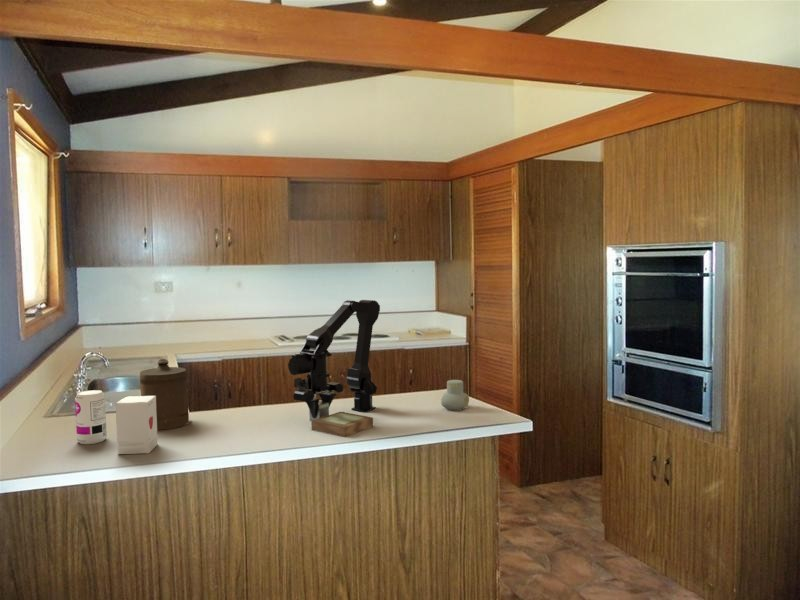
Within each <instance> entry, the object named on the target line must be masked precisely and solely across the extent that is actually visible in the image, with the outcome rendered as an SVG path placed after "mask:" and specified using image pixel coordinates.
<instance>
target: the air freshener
mask: <svg viewBox="0 0 800 600" xmlns="http://www.w3.org/2000/svg"><path fill="white" fill-rule="evenodd" d="M469 396H470V395H468V394H467V393H466V392H464V381H463V380H461V379H449V380H447V381H446V392H445V393H443V394H442V396H441V399H440V402H441V406H442V407H443V408H445V409H446V410H450V411H463V410H464V409H466V408H467V407H468V406H469V404H470V403H469V402H470V397H469Z"/></svg>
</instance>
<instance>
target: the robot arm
mask: <svg viewBox="0 0 800 600" xmlns="http://www.w3.org/2000/svg"><path fill="white" fill-rule="evenodd" d="M380 312H381V305H380V303H379V302H378V301H376V300H373V299H372V300H371V299H361V300H359V301H356V300H349V299H347V300H344V301H343V302H342V305H341V306H340V307H339V308H338V309H337V310H336V311H335V313H333V314H332V315H331V317H330V318H328V320H327V321H326V322H325V323H324V324H323V325H322V326H320V327H318V328H316V329H314V330H313V331H312V332H310V333H309V334H308V335H307V337H306V338H305V342H304V344H303V345H302V347H301V350H300V351H299V353H292V354H291V358H290V359H289V361H288V363H287V367H288V371H289V373H290V375H292V376H297V375H303V374H306V378H303V379H302V377H298V378H294V379H293V385H294V388H295V389H297V390H295V391H294V392H293V394H292V395H293V396H292V397H293V400H294V401H298V402H299V401H300V402H305V403H306V406H307V407H308V410H310V412H311V415H312V417H313V418H316V415H317V409H318V403H319V401H323V402H329V408H330V407H331V404H332V402H333V400H334V399H335V397H336V396H337V394H339V393H341V392H343V391H344V386H343V384H342V383H341V382H340V383H339V382H334V381H329V382H328V378H329V377H330V375H331V374H330V373H328V369H327V367H328V366H327V365H328V364H327V363H328V362H327V361H328V360H327V357H328V358H329V357H332V356H333V355H332V353H331V352H329V351H328V350H329V347H330V346H331V345H332V343H333V340H334V336H335V335H336V334H337V332H338V331H339V330H340V329H341V328H342V326H343V325H345V323H347V321H349V319H350V317H352V315H353V314H354V313H355V316H356V319H357V322H358V330H357V332H358V333H357V338H356V346H355V353H354V354H355V355H354V363H353V365H352V366H351V367H348V368H347V371H346V372H347V373H346V377H345V380H346V382H347V383H346V384H347V385H348V387H349V389H350V390H349V391H350V392H351V393H354V397H353V400H354V401H353V404H354V405H353V406H354V407H351V410H353V411H356V412H357V411H358V412H363V413H364V412H365V413H366V412H369V411H371V410H376V409H377V407H376V406H373V395H374V394H376V393H377V390H378V386H377V385H376V384H375V383H374V382H373V381H372V373H371V370H370V367H369V360H370V351H371V344H372V335H373V327H374V326H375V325H374V324H375V323H376V322H377V320H378V318H379V315H380ZM334 391H335V392H336V393H334ZM317 395H318V396H319V398H320V399H319V398H317Z"/></svg>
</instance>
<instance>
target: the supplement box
mask: <svg viewBox="0 0 800 600" xmlns="http://www.w3.org/2000/svg"><path fill="white" fill-rule="evenodd" d="M115 417H116V419H115V420H116V444H117V448H116V449H117V455H135V454H138V455H139V454H150V452H152V451H153V450H154V449H155V447H157V446H158V445H159V444H158V430H157V415H156V396H140V395H137V396H130V395H129V396H126V397H123V398H122V399H120V400H118V401H117V402H116V403H115Z"/></svg>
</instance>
